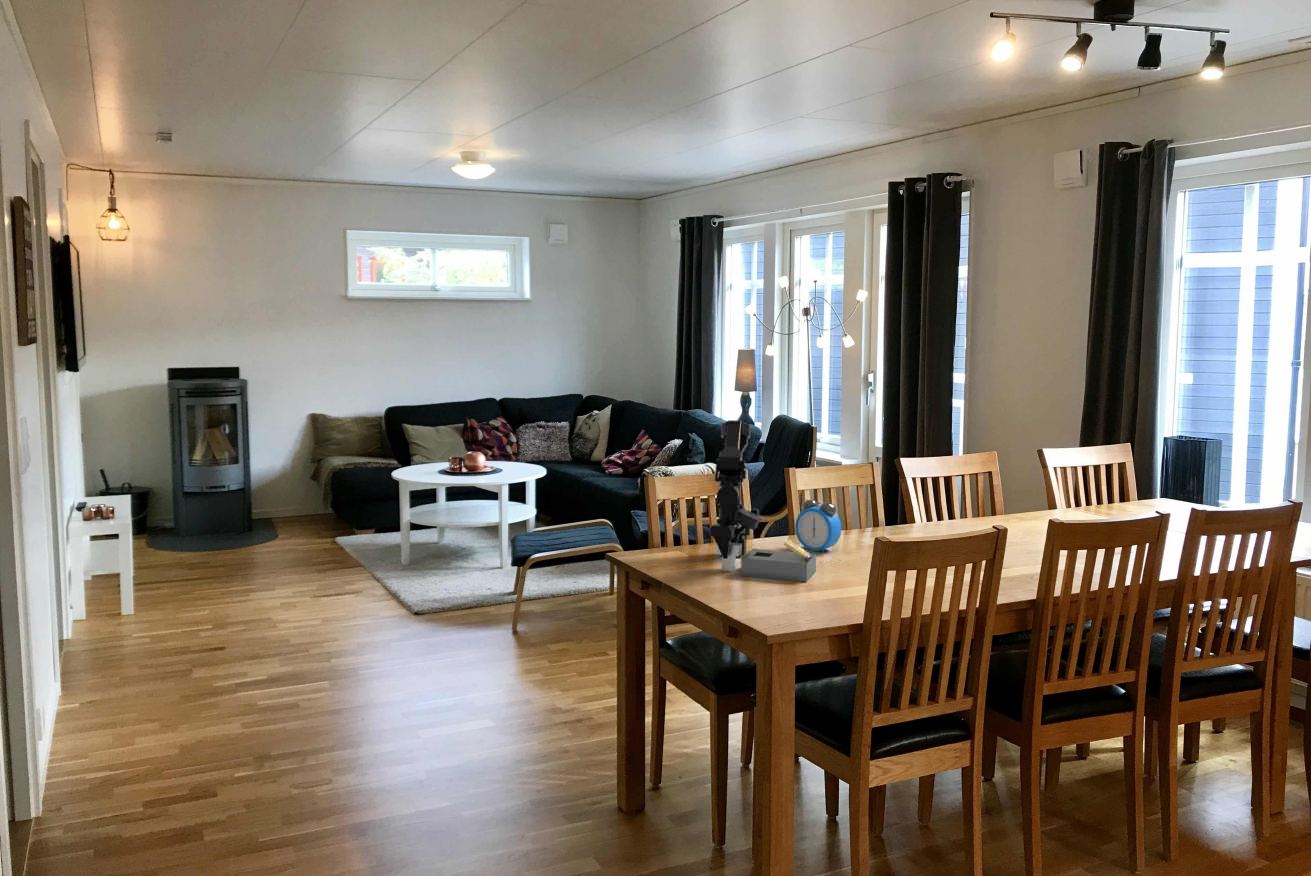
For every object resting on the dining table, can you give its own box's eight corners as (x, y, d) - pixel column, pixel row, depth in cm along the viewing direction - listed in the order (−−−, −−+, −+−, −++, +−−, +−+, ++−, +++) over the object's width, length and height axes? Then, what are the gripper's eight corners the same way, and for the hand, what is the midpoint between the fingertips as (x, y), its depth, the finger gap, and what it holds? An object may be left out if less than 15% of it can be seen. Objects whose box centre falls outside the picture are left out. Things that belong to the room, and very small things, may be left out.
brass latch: (783, 544, 280) (785, 542, 280) (787, 541, 284) (788, 539, 284) (806, 560, 278) (808, 558, 278) (810, 557, 282) (812, 554, 282)
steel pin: (716, 570, 287) (716, 543, 286) (719, 567, 290) (719, 541, 289) (738, 572, 285) (738, 545, 284) (741, 569, 288) (741, 543, 287)
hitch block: (741, 575, 281) (741, 557, 280) (752, 565, 292) (753, 548, 292) (806, 582, 275) (807, 563, 274) (815, 571, 286) (816, 554, 285)
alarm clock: (793, 548, 315) (794, 499, 313) (805, 544, 319) (806, 496, 318) (830, 554, 306) (831, 505, 304) (841, 551, 311) (843, 502, 309)
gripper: (749, 508, 274) (748, 566, 275) (766, 496, 291) (765, 551, 293) (708, 505, 277) (708, 562, 279) (728, 494, 295) (727, 547, 297)
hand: (728, 555), depth 287 cm, fingers open, 7 cm apart
